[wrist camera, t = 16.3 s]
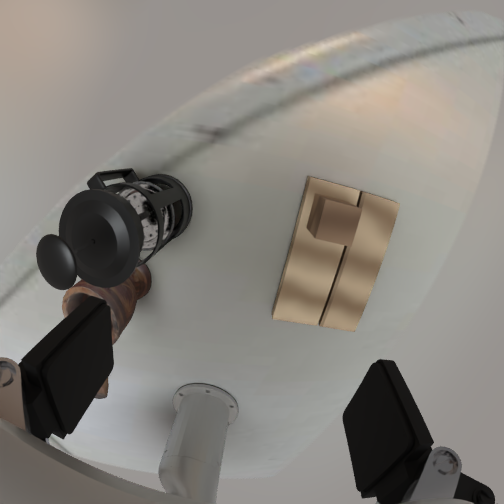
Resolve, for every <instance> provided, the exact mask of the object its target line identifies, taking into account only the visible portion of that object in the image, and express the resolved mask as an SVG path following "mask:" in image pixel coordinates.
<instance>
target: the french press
mask: <svg viewBox="0 0 504 504" xmlns="http://www.w3.org/2000/svg"><path fill="white" fill-rule="evenodd" d="M118 178H123V179H124V180H125V182H123V183H117V184H112V185H109V186H105V184H104V182H103V181H107V180H112V179H118ZM155 184H164V185H167V186H169V187H171V188H170V189H166V190H162V189H161V188H160V187H158V186H156V185H155ZM87 185H88V187H89V188H90V190H85V191H82V192H80V193H78V194H76V195H75V196H74V197H72V198H71V199H70V200H69V202H68V203H67V204H66V206H65V208H64V210H63V212H62V215H61V218H60V223H59V236H57V235H53V234H49V235H46V236H44V237H43V238H42V239H41V240H40V242H39V244H38V246H37V252H36V257H37V263H38V267H39V270H40V272H41V274H42V276H43V277H44V279H45V280H46V281H47V282H48V283H49V284H50V285H51V286H53V287H54V288H56V289H59V290H66V289H69V288H71V287H72V286H73V285H74V283H75V281H76V278H77V275H78V276H79V277H80V278H81V279H82V280H84V281H85V282H87V283H89V284H91V285H93V286H97V287H101V288H111V287H115V286H118V285H120V284H122V283H124V282H125V281H126V280H127V279H128V278H129V277H130V276H131V275H132V273H133V272H134V270H135V269H136V267H139V266H141V265H143V264H144V263H146V262H147V261H148V260H149V259H150V258H151V257H152V256H154V255H155V254H156V253H157V252H158V251H159V250H160V249H162V248H163V247H164V246H165V245H166V244H167V243H168V242H170V241H171V240H172V239H174V238H176V237H178V236H179V235H180V234H181V233H183V232H184V230H185V229H186V228H187V226H188V224H189V222H190V220H191V216H192V201H191V197H190V194H189V193H188V191H187V189H186V188H185V186H184V185H183V184H182V183H181V182H180V181H179V180H178V179H176V178H174V177H172V176H169V175H165V174H156V175H151V176H149V177H146V178H143V179H141V180H139V178H138V177H137V175H136V173H135V172H134V170H133V169H132V168H129V169H119V170H111V171H103V172H97V173H96V174H95V175H94V176H93V177H92V178H91V179H90V180H89V181H88V182H87ZM117 192H119V194H115V193H117ZM178 200H181V204H182V215H181V219H180V221H179V223H178V224H177V225H176V227H174V220H175V216H174V208H173V204H172V203H174V202H176V201H178ZM173 227H174V228H173ZM153 249H154V250H153ZM141 250H143V251H147V250H153V252H152V253H151V254H150V255H149V256H148V257H146V258H145V259H144V260H143V261H141V262H138V261H139V256H140V252H141Z"/></svg>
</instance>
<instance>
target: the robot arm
mask: <svg viewBox="0 0 504 504" xmlns="http://www.w3.org/2000/svg"><path fill="white" fill-rule="evenodd" d="M21 360H22V361H21V362H20V363H19V364H17V363H16V362H15V361H13V360H11V359H9V358H3V357H1V358H0V504H216V497H217V488H218V482H219V475H220V469H221V463H222V457H223V450H224V444H225V438H226V432H227V425H230V424H231V423H233V422H234V421H235V419H236V418H237V414H238V406H237V403H236V402H235V400H234V399H233V398H232V397H231V396H230V395H229V394H228V393H226V392H225V391H223V390H221V389H219V388H216V387H214V386H210V385H205V384H190V385H186V386H183V387H182V388H180V389H179V390H178V391H177V392H176V393H175V395H174V398H173V405H174V408H175V410H176V412H177V415H176V418H175V421H174V423H173V426H172V429H171V432H170V435H169V438H168V441H167V444H166V447H165V450H164V453H163V456H162V459H161V462H160V465H159V478H160V481H161V483H162V486H163V488H164V489H165V491H166V493H165V492H161V491H158V490H154V489H151V488H148V487H145V486H142V485H139V484H136V483H133V482H130V481H127V480H125V479H122V478H119V477H117V476H114V475H112V474H109V473H107V472H104V471H102V470H100V469H98V468H95V467H93V466H91V465H89V464H86V463H84V462H82V461H80V460H78V459H76V458H74V457H72V456H70V455H68V454H66V453H64V452H62V451H60V450H58V449H56V448H55V447H53V446H51V445H50V444H49V439H48V438H49V437H50V435H51V434H52V433H53V434H54V435H56V436H58V437H60V438H62V439H63V440H64V438H65V436H66V435H67V433H68V434H71V433H72V432H73V431H74V429H75V428H76V426H77V424H78V423H79V421H80V420H81V418H82V416H83V415H84V413H85V412H86V410H87V408H88V407H89V405H90V404H91V402H92V401H93V399H94V397H95V396H96V394H97V393H98V391H99V390H100V388H101V387H102V385H103V384H104V382H105V381H106V379H107V378H108V376H109V375H110V373H111V371H112V369H113V365H114V359H113V347H112V330H111V308H110V306H109V305H107V302H106V300H104V299H101V298H98V297H95V296H90V297H88V298H87V299H86V300H85V301H84V302H82V303H81V304H80V305H79V306H78V307H77V308H76V309H75V310H73V311H72V312H71V313H70V314H69V315H68V316H67V317H66V318H65V319H63V320H62V321H61V322H60V323H59V324H58V325H57V326H56V327H55V328H54V329H53V330H51V331H50V332H49V333H48V334H47V335H46V336H45V337H44V338H43V339H42V340H41V341H40V342H39V343H38V344H37V345H36V346H35V347H34V348H32V349H31V350H30V351H29V352H28V353H27V354H26V355H25V356H24V357H23V358H22V359H21ZM343 424H344V428H345V433H346V437H347V442H348V446H349V452H350V457H351V461H352V466H353V471H354V476H355V482H356V487H357V490H358V491H359V492H361V496H362V498H370V497H377V502H376V504H495V496H494V494H493V491H492V490H491V489H490V488H489V487H487V486H486V485H484V484H482V483H480V482H478V481H476V480H474V479H472V478H471V477H469V476H466V475H465V474H463V473H461V467H462V464H461V460H460V458H459V456H458V455H457V454H456V453H455V452H454V451H453V450H452V449H450V448H447V447H437V448H435V449H433V450H432V448H431V446H432V444H433V443H434V441H433V439H432V437H431V435H430V433H429V430H428V428H427V426H426V424H425V422H424V419H423V417H422V415H421V413H420V411H419V409H418V407H417V405H416V403H415V401H414V399H413V397H412V395H411V393H410V391H409V389H408V387H407V385H406V383H405V381H404V379H403V377H402V375H401V373H400V371H399V369H398V367H397V366H396V363H395V362H394V361H392V360H382V359H379V360H377V361H376V363H373V364H372V365H371V366H370V368H369V370H368V372H367V374H366V376H365V377H364V379H363V381H362V383H361V384H360V386H359V388H358V389H357V391H356V393H355V394H354V396H353V398H352V399H351V401H350V403H349V404H348V406H347V407H346V409H345V411H344V413H343Z"/></svg>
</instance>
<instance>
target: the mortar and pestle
mask: <svg viewBox="0 0 504 504" xmlns="http://www.w3.org/2000/svg"><path fill="white" fill-rule="evenodd" d="M138 262H141V260H140V259H139V261H138ZM150 287H151V275H150V272H149V269H148V268H147V266H146V265H145V264H143V265H141V266H139V267H136V269H135V270H134V272H133V273H132V275H131V276H130V277H129V278H128V279H127V280H126V281H125V282H124V283H122V284H120V285H118V286H115V287H111V288H101V287H97V286H93V285H91V284H89V283H87V282H85V281H84V280H80V281H79V282H78V283H76V284H75V285H74V286H73V287H71V288H70V289H69V290H68V291H66V294H65V296H64V297H63V304H62V309H63V314H64V317H65V318H66V317H67V316H68V315H69V314H70V313H71V312H72V311H73V310H75V309H76V308H77V307H78V306H79V305H80V304H81V303H82V302H84V301H85V300H86V299H87V298H88V297H90V296H95V297H98V298H101V299H104V300H106V302H107V305H109V306H110V308H111V330H112V345H113V344H114V343H115V342H116V341H117V340H118V338H119V337H120V335H121V333H122V331H123V330H124V329H125V327H126V326H127V324H128V323H129V321H130V320H131V318H132V316H133V313H134V310H135V306H136V302H137V300H138V299H140V298H142V297H143V296H145V295H146V294H147V293H148V292H149V290H150ZM107 393H108V378H107V379H106V381H105V382H104V384H103V385H102V387H101V388H100V390H99V391H98V393H97V394H96V396H95V397H94V398H97V399H102V398H106V397H107Z"/></svg>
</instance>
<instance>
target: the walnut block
mask: <svg viewBox="0 0 504 504" xmlns="http://www.w3.org/2000/svg"><path fill="white" fill-rule="evenodd" d="M361 213H362V209H361V208H359V207H357V206H355V205H353V204H351V203H349V202H346V201H343V200H339V199H335V198H332V197H328V196H324V195H320V194H316V193H315V196H314V200H313V204H312V208H311V212H310V215H309V219H308V223H307V227H306V228H307V229H308V230H309V232H310V233H311V234H312V235H313V237H314V238H315V239H319V240H323V241H327V242H332V243H336V244H341V245H345V246H349V247H352V243H353V240H354V237H355V234H356V230H357V227H358V224H359V220H360V217H361Z"/></svg>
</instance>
